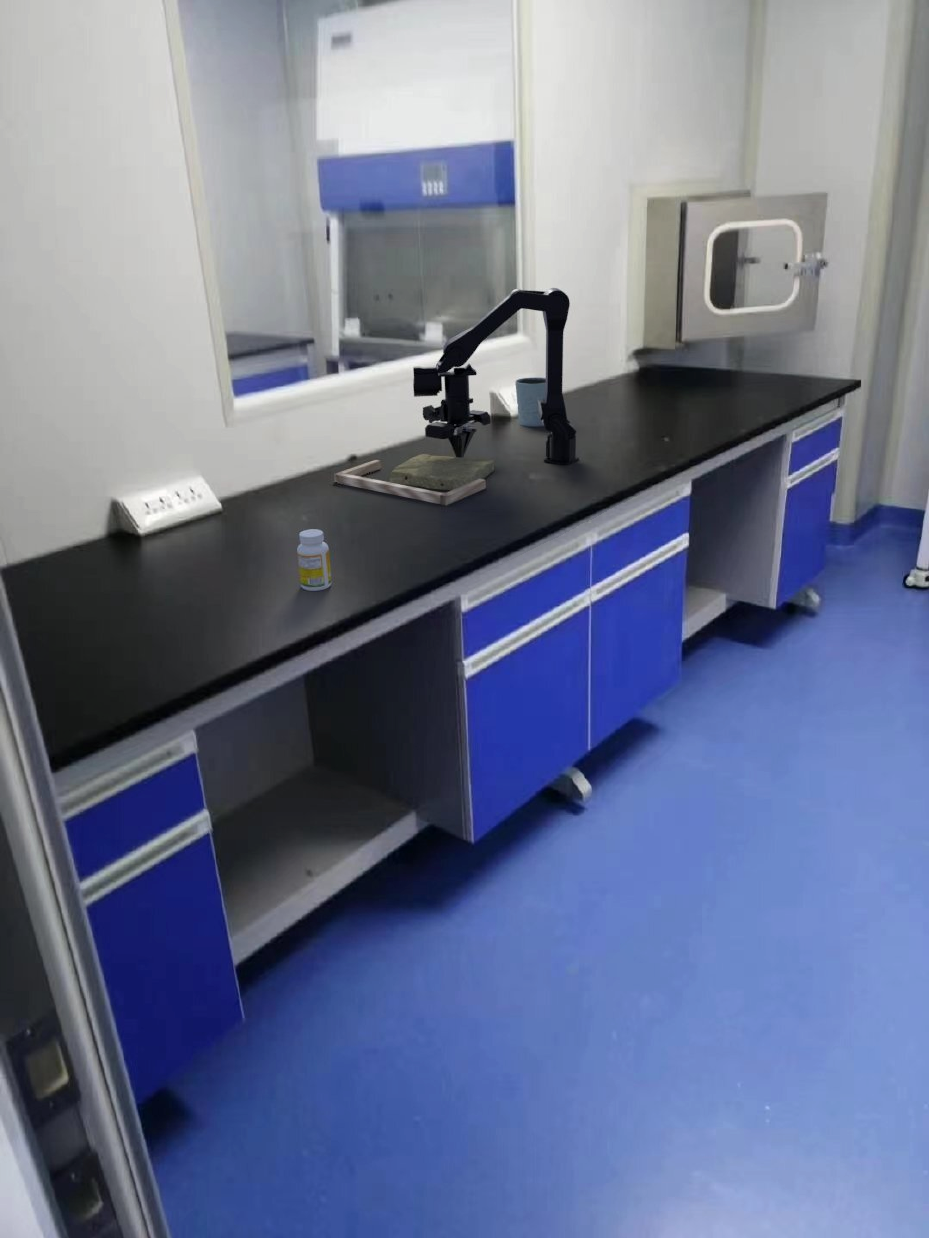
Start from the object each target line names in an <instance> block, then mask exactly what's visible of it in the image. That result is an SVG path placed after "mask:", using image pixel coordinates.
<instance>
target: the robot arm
mask: <svg viewBox="0 0 929 1238" xmlns="http://www.w3.org/2000/svg"><path fill="white" fill-rule="evenodd" d="M570 304H571V303H570V299H569V296H568V295H567V293H565V292H564V291H563V290H561V289H559V288H557V287H552V288H549V289H547V290H546V291H543V290H542V291H541V290H528V289H527V290H525V289H520V288H514V289H513V290H511V291H510V292H509V294H508V295H507V296H506V297H505V298H504V299H502V301H500V302H499V303H498V304H497V305H496V306H494V307H493V308H492V309H491V310H490V311H489V312H488V313H487V314H485V315H484V316H483V317H482V318H480V320H478V321H477V322H476V323H475V324H474V325H472V326H471V327H470V328H468V329H465V330H463V331H462V332H460V333H458V334H457V335H455V336H453V337H451V338H449V339H448V340H447V341H446V342H445V343H444V345H443V349H442V355H441V357H440V358H439V360H438V361H437V362H436V365H435V366H420V365H419V366H417V365H416V366H413V371H412V372H413V380H412V383H413V384H412V385H413V397H414V398H415V397H416V398H417V397H437V396H438V394H440V392H442V391H443V383H442V379H443V380H444V397H445V398H442V399H441V400H440V406H437V407H434V406H433V404H430V405H427V406H424V407H422V418H423V419H424V420H425V421H428V423H429V424H427V425H426V426H425V427H424V436H425V437H426V438H432V439H440V440H447V439H448V441H449V443H450V445H451V447H452V450H453V452H454V455H455V457H459V458H465V457H464V456H465V455H466V452H467V449H468V447H469V446H470V443H471V441H472V439H473V437H474V435H475V434H476V432H477V430H478V429H477V428H473V426H472V425H473V424H475V423H480V425H481V426H487V425H490V424H491V415H490V414H489V412H488V411H484V410H483V411H482V410H477V409H476V410H475V409H470V408H471V407H470V404H472V403H473V404H474V398H472V397H470V377H471V376H477V374H478V373H477V370H476V369H475V368H474V367H472V365H471V364H470V363H468V364H467V365H466V366H465V367H464V365H465V364H466V363H467V362H468V360H470V358H471V357H472V356H473V355H474V353H475V352H476V350H477V349H478V347H479V346H480V345H481V344H482V343H483V342H484V340H486V339H487V338H488V337H489V336H490V335H492V334H493V333H494V332H495V331H496V330H497V329H499V328H500V327H501V326H502V325H504V323H506V322H507V321H508V320H509V319H510V318H512V317H513V316H514V315H515V314H516V313H517V312H519V311H520V310H521V309H522V310H523V309H524V310H530V311H537V312H541V313H542V317H543V318H542V319H543V322H544V327H545V333H546V334H545V378H546V390H545V394H544V398H543V399H542V398H538V405H539V410H538V413H537V415H538V417H539V418H540V420H541V421H542V423H543V425H544V426H543V427H544V429H546V431H547V432H549V434H547V440H545V458H544V459H543V462H545V463H550V464H558V465H563V466H567V465H569V464H571V463H573V462H575V461H577V460H579V459H580V457H579V456H577V455H576V454H577V452H576V451H577V442H576V441H577V435H576V434H577V430H576V429H575V427H574V425H573V424H572V422H570V420H568V416H567V409H566V403H565V399H564V395H563V376H564V375H563V374H564V373H563V368H564V366H563V365H564V332H565V327H566V324H567V321H568V315H569V311H570ZM462 366H463V367H462ZM452 369H453V371H451V370H452Z"/></svg>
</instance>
